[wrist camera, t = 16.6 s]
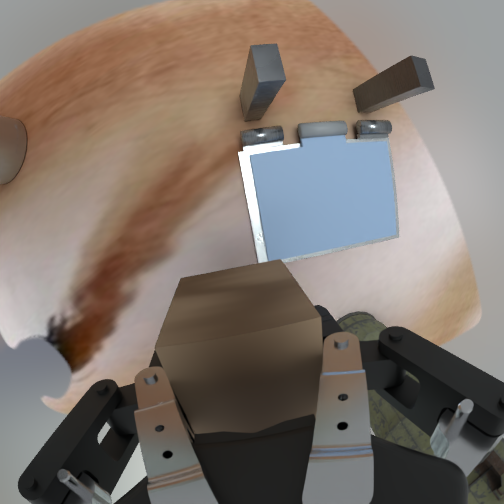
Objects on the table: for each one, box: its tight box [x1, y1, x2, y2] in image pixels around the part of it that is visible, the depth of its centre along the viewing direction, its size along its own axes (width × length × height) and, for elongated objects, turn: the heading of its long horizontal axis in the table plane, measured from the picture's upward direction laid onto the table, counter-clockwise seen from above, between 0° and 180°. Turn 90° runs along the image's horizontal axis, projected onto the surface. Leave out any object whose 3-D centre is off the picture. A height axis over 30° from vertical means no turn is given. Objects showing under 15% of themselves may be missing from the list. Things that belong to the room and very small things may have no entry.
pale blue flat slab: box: [249, 121, 396, 261], centre depth 27 cm, size 16×14×2 cm
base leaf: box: [238, 44, 434, 263], centre depth 23 cm, size 18×19×12 cm
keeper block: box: [155, 259, 323, 434], centre depth 11 cm, size 5×5×6 cm
